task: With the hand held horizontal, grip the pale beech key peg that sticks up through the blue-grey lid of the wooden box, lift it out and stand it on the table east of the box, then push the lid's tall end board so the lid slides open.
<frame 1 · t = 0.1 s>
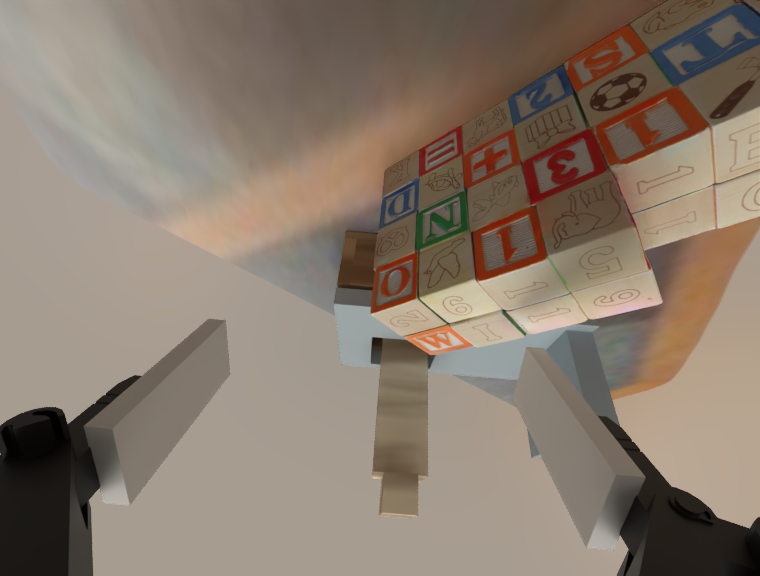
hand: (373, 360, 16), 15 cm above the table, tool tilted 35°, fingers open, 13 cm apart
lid: (451, 381, 30), point 10 cm above the table, slide at 0.0 cm
stack of blocks: (549, 119, 22), on the table
wooden box: (447, 280, 36), on the table
key: (405, 294, 37), point 1 cm above the table, touching wooden box
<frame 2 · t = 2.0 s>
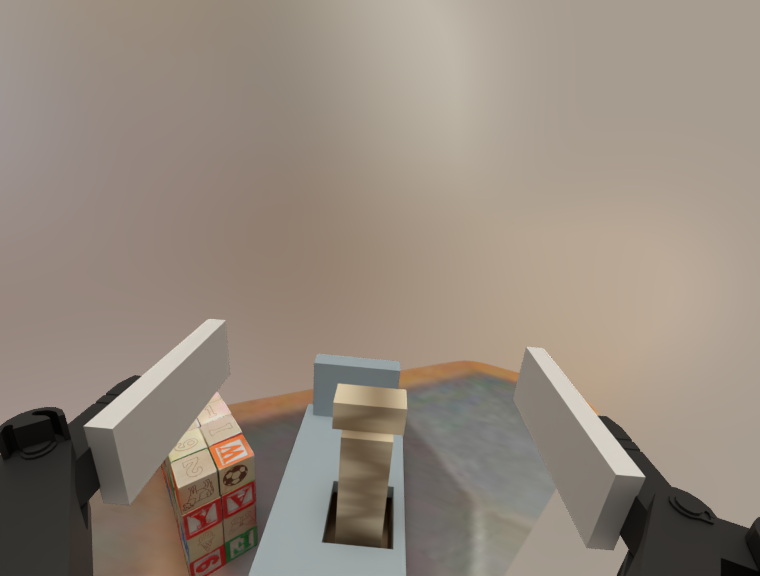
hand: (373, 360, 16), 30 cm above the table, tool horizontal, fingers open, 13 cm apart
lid: (346, 450, 35), point 10 cm above the table, slide at 0.0 cm
stack of blocks: (199, 487, 42), on the table
wooden box: (341, 525, 39), on the table
key: (356, 561, 35), point 1 cm above the table, touching wooden box
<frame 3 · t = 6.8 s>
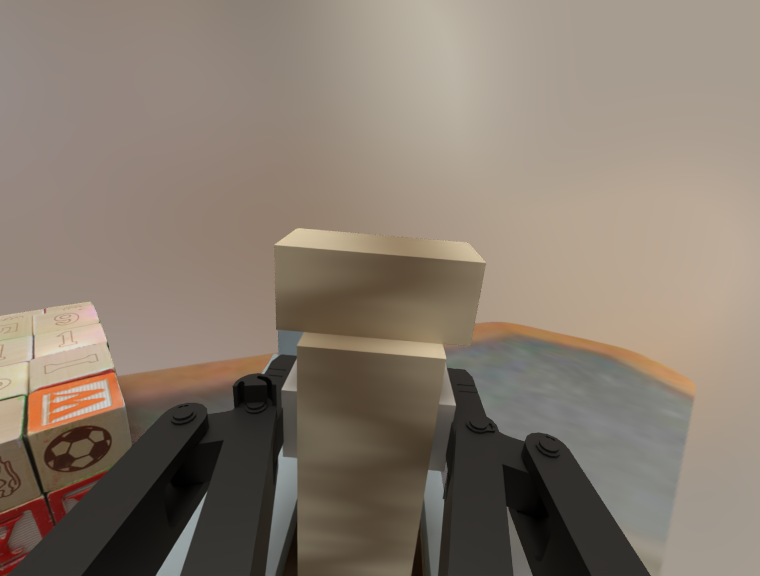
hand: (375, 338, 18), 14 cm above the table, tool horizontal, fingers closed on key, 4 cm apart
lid: (328, 415, 18), point 10 cm above the table, slide at 0.0 cm
stack of blocks: (78, 484, 25), on the table
wooden box: (323, 558, 21), on the table
when the fingers open (14 cm above the table, at t = 12.8 s): key drops 1 cm, on the table.
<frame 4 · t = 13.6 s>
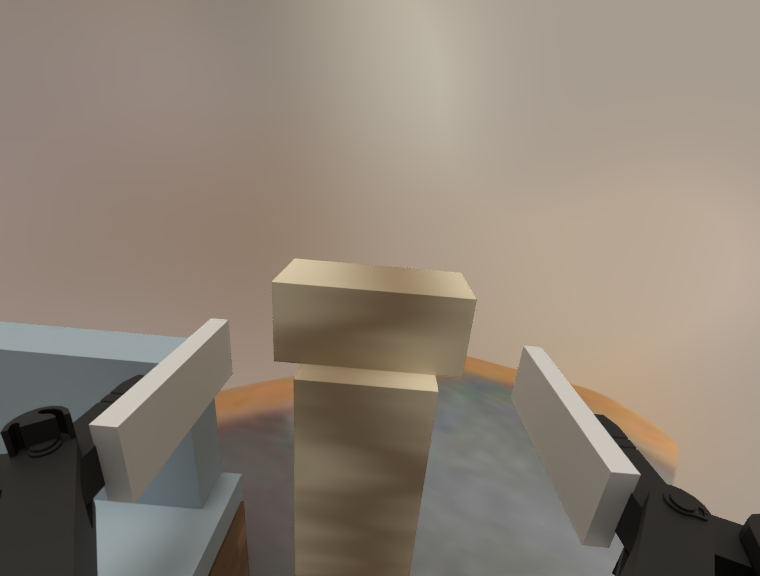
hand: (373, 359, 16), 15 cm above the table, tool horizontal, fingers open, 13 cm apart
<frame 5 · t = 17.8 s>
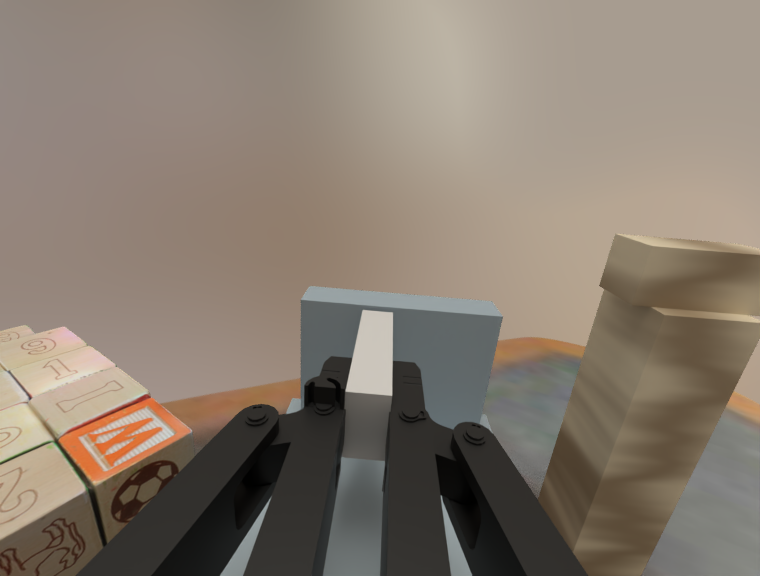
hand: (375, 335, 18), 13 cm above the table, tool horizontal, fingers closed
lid: (394, 532, 12), point 10 cm above the table, slide at 0.1 cm, touching gripper
stack of blocks: (59, 546, 20), on the table
key: (575, 558, 22), on the table
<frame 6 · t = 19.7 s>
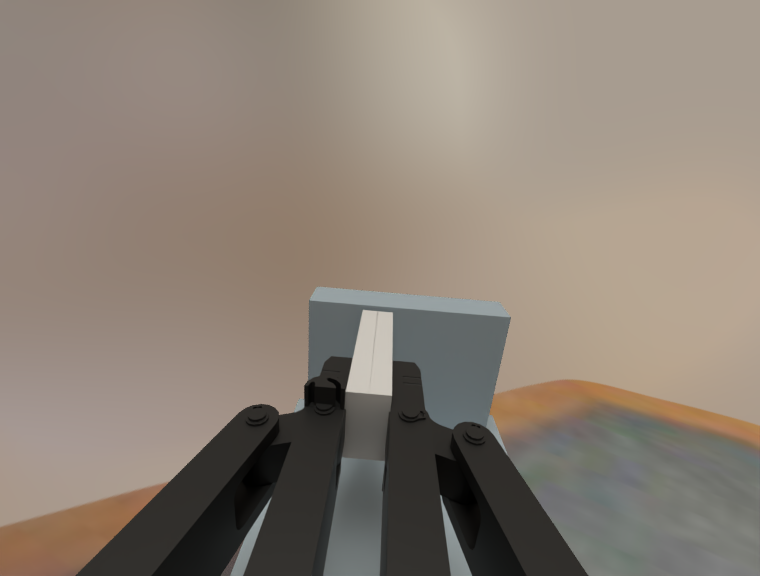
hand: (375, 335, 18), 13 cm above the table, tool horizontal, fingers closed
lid: (406, 532, 12), point 11 cm above the table, slide at 10.2 cm
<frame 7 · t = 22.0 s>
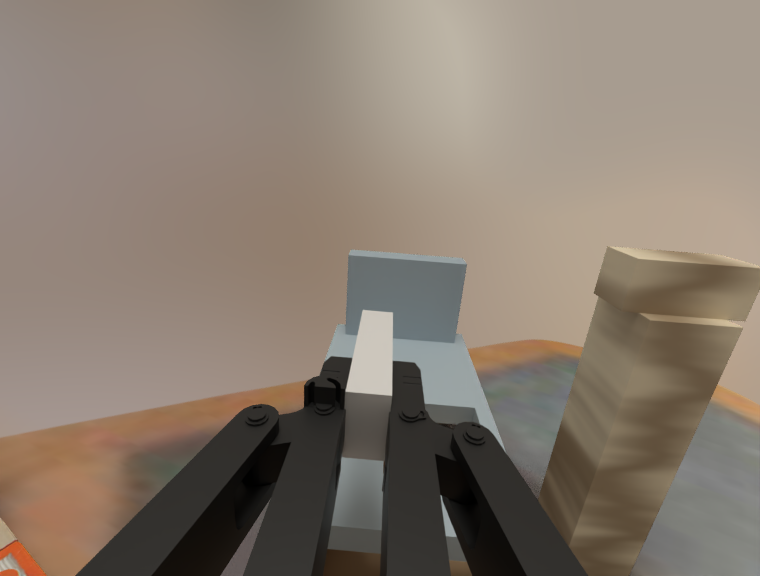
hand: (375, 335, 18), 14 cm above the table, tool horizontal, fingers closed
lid: (404, 355, 24), point 10 cm above the table, slide at 11.4 cm
stack of blocks: (6, 529, 19), point 3 cm above the table
key: (575, 546, 23), on the table
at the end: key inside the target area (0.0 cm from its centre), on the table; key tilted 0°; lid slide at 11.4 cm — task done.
